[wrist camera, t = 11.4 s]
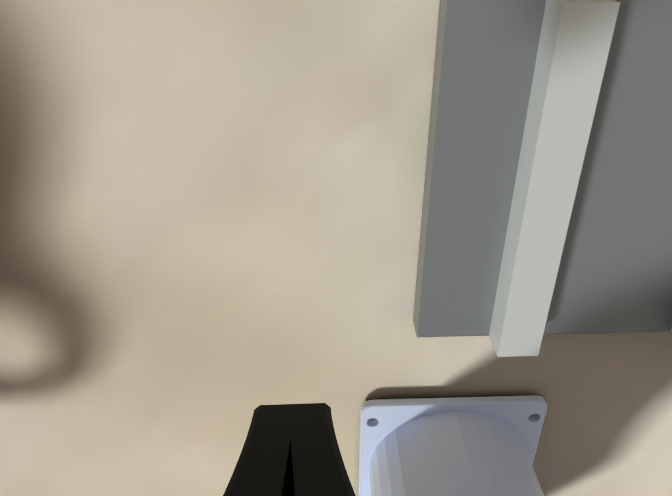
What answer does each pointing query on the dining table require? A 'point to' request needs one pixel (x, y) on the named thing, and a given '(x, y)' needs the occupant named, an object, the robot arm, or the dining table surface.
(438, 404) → the robot arm
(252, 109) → the dining table surface
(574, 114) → the board
